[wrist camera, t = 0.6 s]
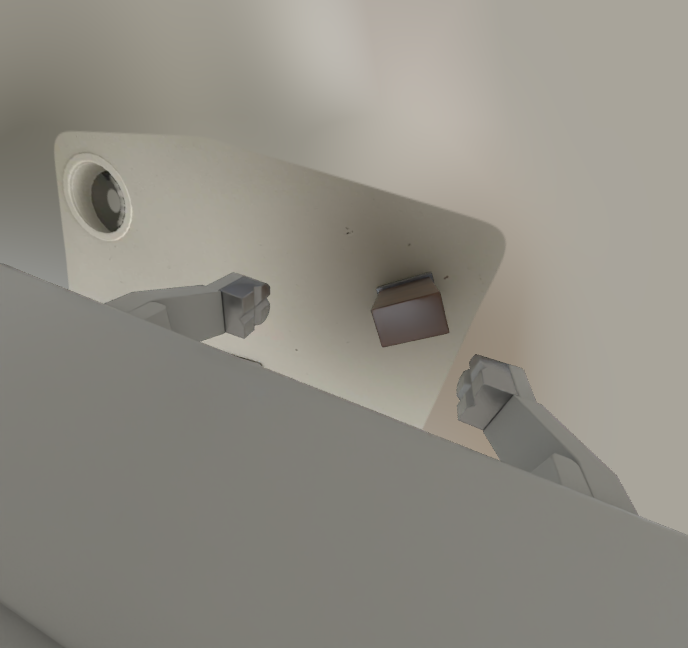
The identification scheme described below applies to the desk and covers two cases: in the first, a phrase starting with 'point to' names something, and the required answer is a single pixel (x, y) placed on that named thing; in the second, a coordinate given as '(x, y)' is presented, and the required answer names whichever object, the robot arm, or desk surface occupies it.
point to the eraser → (409, 311)
